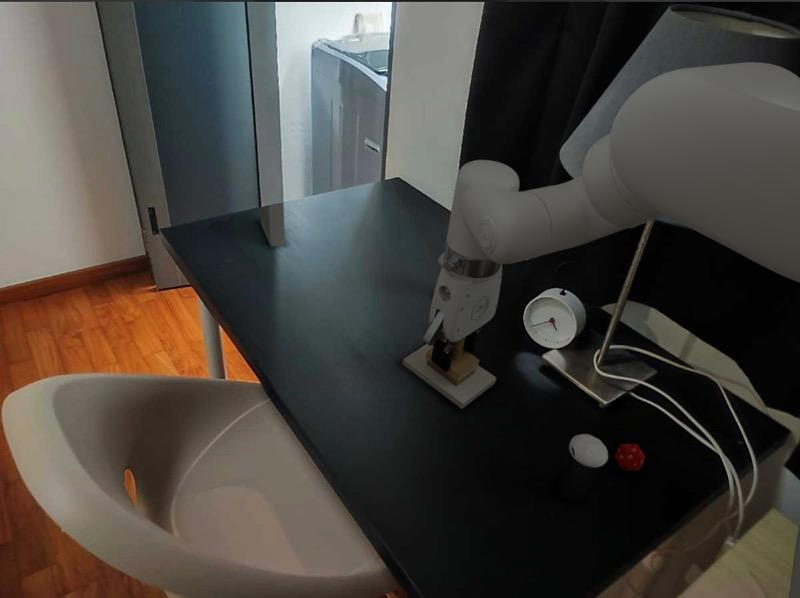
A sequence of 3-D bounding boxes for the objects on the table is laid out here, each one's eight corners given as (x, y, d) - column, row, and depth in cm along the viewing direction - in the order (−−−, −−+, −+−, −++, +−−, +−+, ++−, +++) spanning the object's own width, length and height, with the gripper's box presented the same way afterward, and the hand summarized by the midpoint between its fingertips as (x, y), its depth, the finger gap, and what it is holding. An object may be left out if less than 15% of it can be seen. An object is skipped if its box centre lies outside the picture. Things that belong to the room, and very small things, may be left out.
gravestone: (270, 246, 111) (266, 159, 100) (260, 222, 118) (255, 138, 107) (284, 244, 112) (281, 158, 101) (274, 221, 119) (270, 137, 108)
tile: (495, 383, 87) (496, 377, 87) (461, 409, 83) (463, 403, 82) (436, 342, 94) (437, 336, 93) (402, 364, 89) (403, 358, 88)
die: (645, 451, 78) (635, 434, 76) (651, 473, 75) (641, 455, 73) (618, 458, 79) (608, 441, 78) (624, 480, 77) (613, 462, 75)
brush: (476, 372, 87) (486, 334, 82) (456, 387, 84) (464, 349, 80) (445, 350, 90) (452, 312, 86) (424, 364, 88) (430, 325, 83)
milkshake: (540, 482, 74) (560, 431, 68) (573, 470, 76) (596, 420, 70) (561, 512, 71) (584, 462, 65) (595, 499, 73) (621, 449, 67)
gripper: (452, 294, 68) (433, 399, 79) (533, 247, 78) (506, 346, 89) (407, 265, 72) (394, 370, 83) (489, 224, 82) (468, 322, 93)
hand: (452, 356), depth 86 cm, fingers closed on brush, 4 cm apart
